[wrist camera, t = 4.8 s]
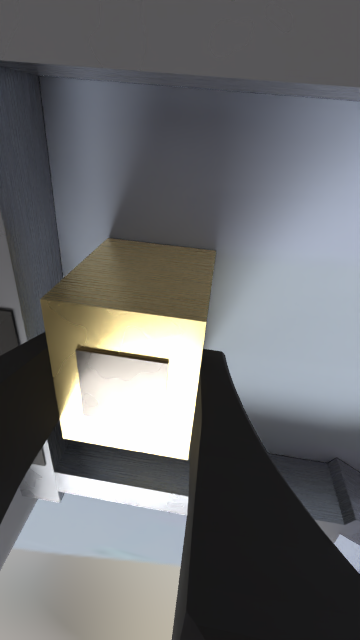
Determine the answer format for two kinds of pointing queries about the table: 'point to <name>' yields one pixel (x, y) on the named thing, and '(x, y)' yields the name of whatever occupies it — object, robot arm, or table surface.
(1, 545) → the power adapter
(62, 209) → the table surface
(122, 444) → the brass cube with recess
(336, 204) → the table surface
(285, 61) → the grey square frame
